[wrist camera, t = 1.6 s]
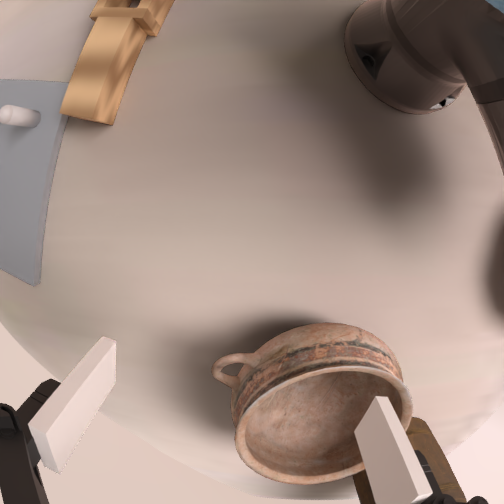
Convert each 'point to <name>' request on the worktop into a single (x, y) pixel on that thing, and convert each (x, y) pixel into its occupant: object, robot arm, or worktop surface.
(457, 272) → the worktop surface
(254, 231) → the worktop surface
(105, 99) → the link
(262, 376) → the cooking pot
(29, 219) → the pintle base
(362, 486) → the wooden container
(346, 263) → the worktop surface
